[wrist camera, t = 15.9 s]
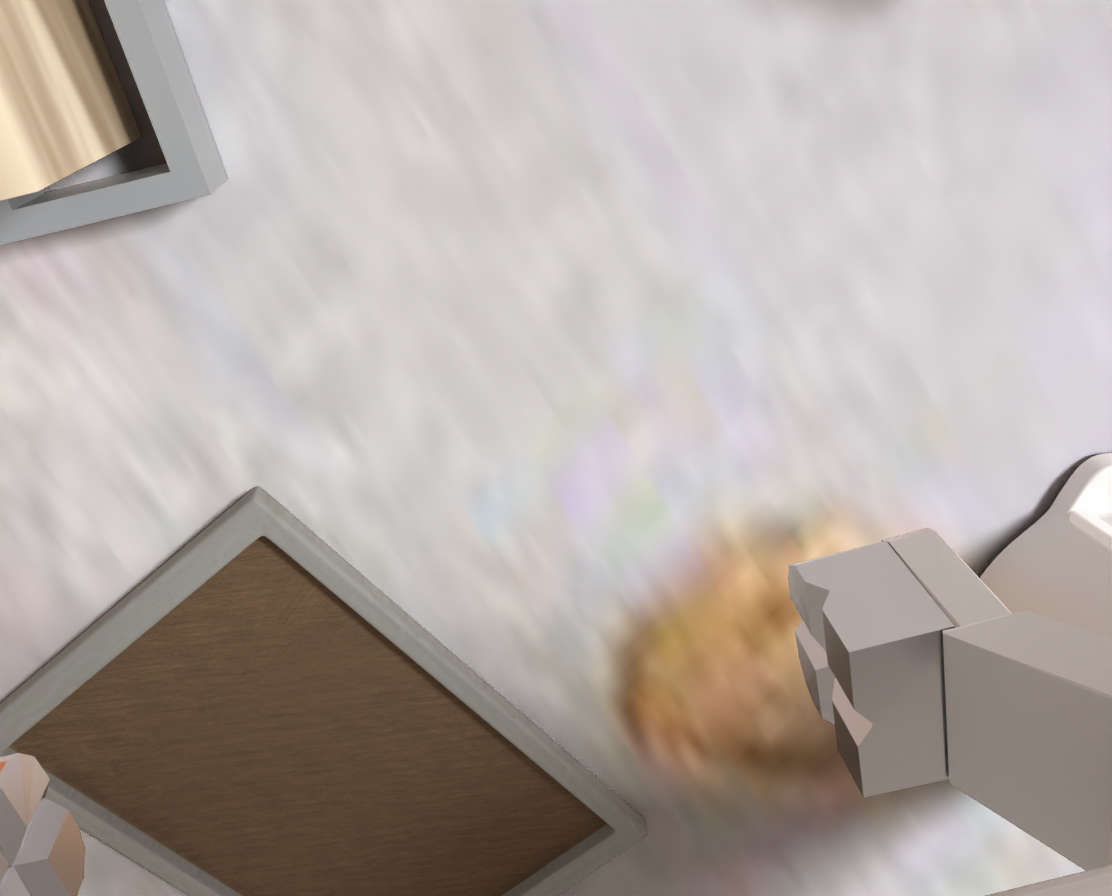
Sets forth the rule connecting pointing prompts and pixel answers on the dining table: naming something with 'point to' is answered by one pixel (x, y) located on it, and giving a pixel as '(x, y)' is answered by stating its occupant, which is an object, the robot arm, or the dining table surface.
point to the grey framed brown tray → (302, 736)
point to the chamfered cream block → (55, 94)
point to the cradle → (174, 122)
